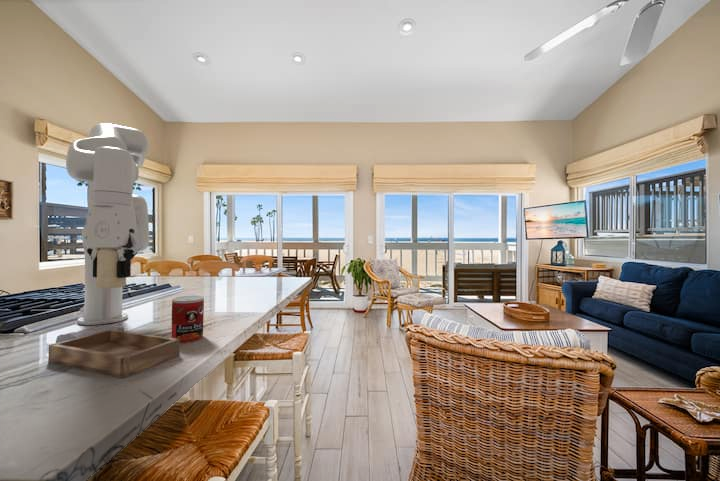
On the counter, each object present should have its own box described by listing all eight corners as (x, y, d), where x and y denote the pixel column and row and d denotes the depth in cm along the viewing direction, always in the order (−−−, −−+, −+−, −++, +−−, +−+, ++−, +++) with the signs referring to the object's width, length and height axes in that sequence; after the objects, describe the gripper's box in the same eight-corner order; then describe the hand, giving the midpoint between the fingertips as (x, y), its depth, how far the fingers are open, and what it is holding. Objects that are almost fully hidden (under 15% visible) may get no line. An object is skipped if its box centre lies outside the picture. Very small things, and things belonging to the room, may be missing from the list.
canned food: (174, 345, 81) (175, 302, 81) (168, 337, 87) (169, 297, 87) (206, 339, 86) (207, 298, 86) (198, 332, 92) (199, 294, 92)
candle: (98, 286, 77) (98, 244, 77) (126, 284, 80) (127, 244, 80) (95, 289, 72) (96, 245, 72) (125, 287, 75) (126, 245, 75)
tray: (48, 362, 69) (48, 345, 69) (111, 344, 81) (111, 329, 81) (123, 378, 62) (124, 358, 62) (179, 355, 74) (179, 339, 74)
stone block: (50, 356, 77) (83, 351, 75) (48, 336, 77) (81, 331, 76) (98, 342, 89) (128, 338, 87) (96, 325, 89) (126, 320, 87)
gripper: (65, 199, 73) (63, 277, 73) (132, 198, 71) (131, 279, 71) (95, 203, 81) (94, 274, 81) (157, 203, 79) (156, 276, 79)
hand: (111, 276), depth 76 cm, fingers closed on candle, 5 cm apart
